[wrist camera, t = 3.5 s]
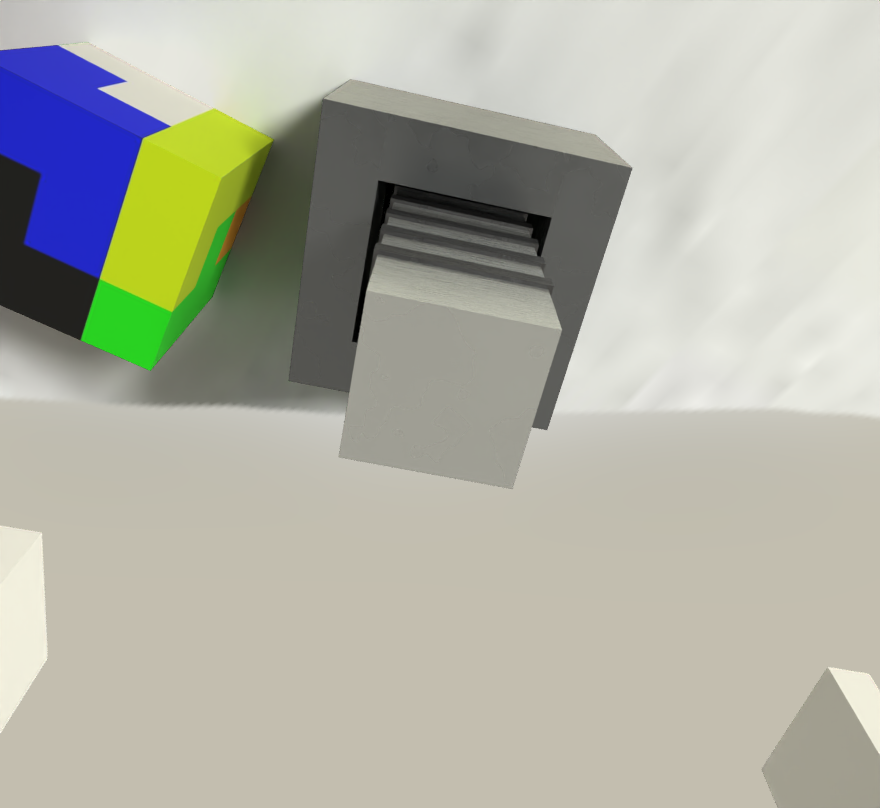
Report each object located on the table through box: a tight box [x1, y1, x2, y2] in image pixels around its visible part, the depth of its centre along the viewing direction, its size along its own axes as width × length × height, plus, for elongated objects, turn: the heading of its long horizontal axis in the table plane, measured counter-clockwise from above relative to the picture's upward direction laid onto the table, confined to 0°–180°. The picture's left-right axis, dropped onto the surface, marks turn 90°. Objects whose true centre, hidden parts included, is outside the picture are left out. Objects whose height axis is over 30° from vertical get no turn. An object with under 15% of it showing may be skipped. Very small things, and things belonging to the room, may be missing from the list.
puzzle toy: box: [0, 42, 274, 371], centre depth 35 cm, size 10×10×10 cm
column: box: [339, 184, 562, 489], centre depth 32 cm, size 6×6×20 cm
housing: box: [289, 79, 632, 430], centre depth 36 cm, size 13×13×12 cm
